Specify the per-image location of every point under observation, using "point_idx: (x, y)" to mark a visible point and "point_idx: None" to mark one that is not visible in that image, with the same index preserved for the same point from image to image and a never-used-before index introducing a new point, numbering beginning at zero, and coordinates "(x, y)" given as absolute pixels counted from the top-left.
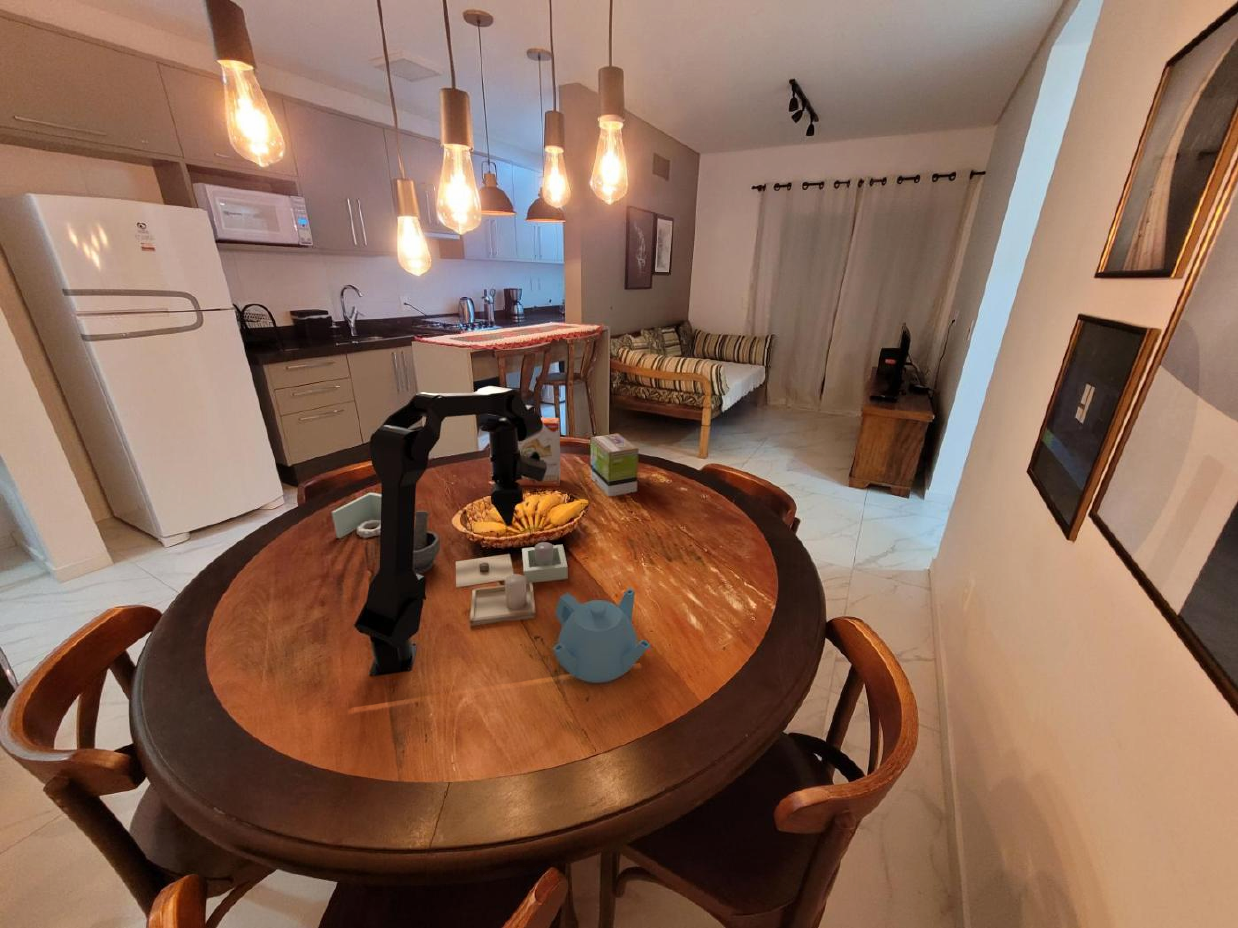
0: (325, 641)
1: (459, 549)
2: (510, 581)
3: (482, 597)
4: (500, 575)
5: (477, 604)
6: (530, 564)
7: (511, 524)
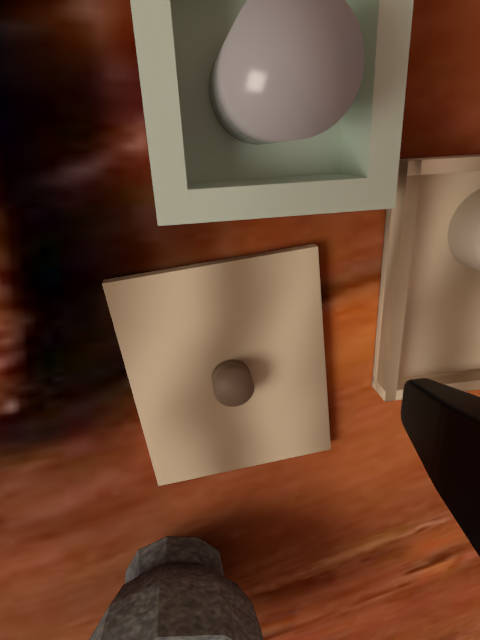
0: (450, 635)
1: (43, 489)
2: None
3: (410, 356)
4: (285, 308)
5: (444, 366)
6: (209, 170)
7: (432, 383)
